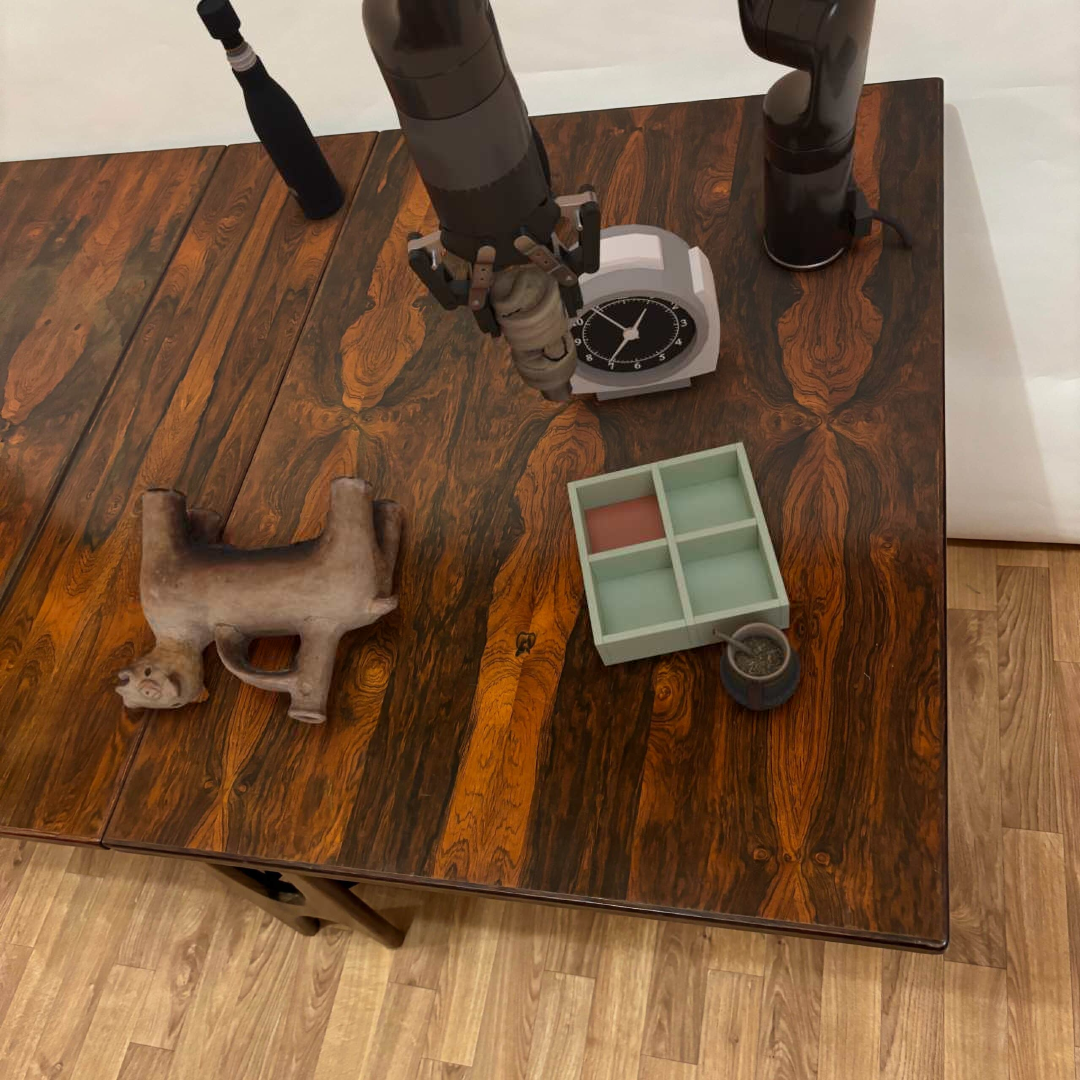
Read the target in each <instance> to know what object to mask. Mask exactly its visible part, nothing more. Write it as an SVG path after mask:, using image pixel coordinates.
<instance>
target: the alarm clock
mask: <svg viewBox="0 0 1080 1080" xmlns="http://www.w3.org/2000/svg"><path fill="white" fill-rule="evenodd" d="M577 247H578V241H576V242H575V243H574V244H573V245H572V246H571V247H570V248H568V249H569V250H570V251H571V250H573V249H575V248H577ZM710 264H711V263H710V260H709V258H708V257H707V256H706V255H705V253H704V252H703V251H702V250H701V248H700V247H699V246H697V245H696V246H695V247H692V248H691V246H690V245H689V244H688V243H687V241H686V240H684V239H683V238H681V237H680V236H678V235H676V234H675V233H674V232H673V231H669V230H666V229H664V228H661V227H658V226H655V225H647V224H646V225H645V224H638V223H632V224H622V225H621V224H620V225H613V226H610V227H607V228H603V229H601V230H600V268H599V270H598V271H597V272H596V273H594V274H587V273H584V274H582V275H581V276H580V277H579V278H578V281H579V284H580V288H581V292H582V297H583V302H584V305H583V309H579V310H577V315H578V317H575V318H571V319H569V318H568V328H567V329H568V330H569V331H570V333H571V334H572V337H573V339H574V343H575V346H576V352H577V367H576V370H575V372H574V374H573V376H572V377H571V379H570V382H571V385H572V387H573V389H572V393H571V395H574V394H575V395H576V394H579V395H580V394H592V393H593V394H596V398H597V401H599V402H600V401H606V400H613V399H619V398H625V397H632V396H637V395H644V394H651V393H656V392H663V391H668V390H677V389H681V388H687V387H691V386H692V383H691V378H692V377H696V376H701V375H704V374H707V373H711V372H714V371H716V370H717V363H718V359H719V353H720V343H721V319H720V311H719V305H718V299H717V293H716V286H715V279H714V274H713V271H712V267H711V265H710ZM563 302H564V301H563ZM564 305H565V304H564ZM565 311H566V308H565ZM566 313H567V311H566ZM567 316H568V314H567Z"/></svg>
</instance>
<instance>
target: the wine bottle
mask: <svg viewBox="0 0 1080 1080" xmlns="http://www.w3.org/2000/svg"><path fill="white" fill-rule="evenodd" d="M196 12H197V15H198V16H199V18H200V20H201V21H202V23H203V25H204V27H205V28H206V30H207V32H208V33H209V35H210V37H211V38H212V39H213V40H216V41H219V42H220V43H221V45H222V47H223V50H224V51H225V56H226V61H228V62H229V65H230V67H231V72H232V74H233V76H234V77H235V80H236V81H237V83H238V85H239V86H240V88H241V89H242V94H243V100H244V104H245V108H246V112H247V115H248V117H249V121H250V123H251V127H252V128H253V132H254V133H255V134H256V136H257V138H258V140H259V141H260V142H261V145H262V147H263V148H264V150H265V151H266V153H267V155H268V156H269V158H270V160H271V161H272V163H273V165H274V167H275V168H276V170H277V172H278V173H279V175H280V177H281V178H282V180H283V182H284V183H285V186H286V187H287V189H288V190H289V192H290V194H291V196H292V197H293V199H294V200H295V202H296V203H297V205H298V207H299V209H300V210H301V212H302V214H303V215H304V217H306V218H307V219H310V220H317V221H318V220H319V221H320V220H323V219H324V220H325V219H328V218H330V217H331V216H334V215H335V214H336V213H337V212H338V211H339V210H340V209H341V208H342V207H343V204H344V202H345V194H344V191H343V189H342V187H341V186H340V183H339V182H338V179H337V177H336V176H335V173H334V172H333V170H332V168H331V166H330V165H329V163H328V161H327V159H326V156H325V154H324V153H323V151H322V149H321V148H320V146H319V144H318V142H317V140H316V138H315V136H314V135H313V133H312V130H311V129H310V126H309V124H308V122H307V121H306V119H305V117H304V115H303V113H302V111H301V109H300V108H299V106H298V104H297V103H296V102H295V100H294V99H293V98H292V96H290V94H289V92H287V91H286V89H285V88H284V87H282V86H281V84H280V83H278V82H277V80H275V79H274V78H273V77H272V76H271V75H270V74H269V72H268V70H267V68H266V67H265V64H264V63H263V61H262V59H261V57H260V56H259V54H257V53H256V52H255V51H254V50H253V46H252V45H251V44H250V43H249V42H248V41H245V38H244V36H243V35H242V33H241V31H240V28H241V26H242V21H241V19H240V18H239V16H238V14H237V12H236V10H235V9H234V6H233V4H232V3H231V1H230V0H200V1H199V2H198V3H197V5H196Z"/></svg>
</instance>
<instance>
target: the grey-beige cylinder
mask: <svg viewBox="0 0 1080 1080" xmlns="http://www.w3.org/2000/svg"><path fill="white" fill-rule="evenodd" d="M488 291H489V294H488V298H489V302H490V304H491V305H492V306H493V312H494V316H495V318H496V320H497V321H498V322H499V327H500V330H501V334H503V336H504V339H505V341H506V343H507V344H508V346H510V347H511V348H510V349H511V350H510V354H511V355H510V356H511V359H512V362H513V365H514V366H515V369H516V371H517V373H518V375H519V377H520V379H521V380H522V381H523V383H524V384H525V385H527V386H528V387H529V388H532V389H535V390H537V391H539V392H540V393H541V396H542V397H543V399H544V400H546V401H548V402H552V403H562V402H566V401H567V400H569V398H570V397H571V395H572V394H571V393H572V389H573V387H572V385H571V382H570V379H571V377H572V376H573V374H574V372H575V370H576V367H577V352H576V346H575V343H574V339H573V337H572V334H571V333H570V331H569V330H568V329H567V328H568V316H567V313H566V311H565V305H564V302H563V298H562V295H561V291H560V287H559V282H558V280H557V279H556V278H555V277H554V276H553V275H552V274H551V273H549V274H546V273H545V272H544V271H543V270H542V269H541V268H540V267H538V266H537V265H536V264H534V265H529V266H521V267H520V266H519V267H514V268H511V269H509V270H507V271H504V272H503V273H501V274H500V275H498V276H497V277H496V278H495V279H494V280H493V282H492V284H491V285H490V286H489V289H488Z"/></svg>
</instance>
